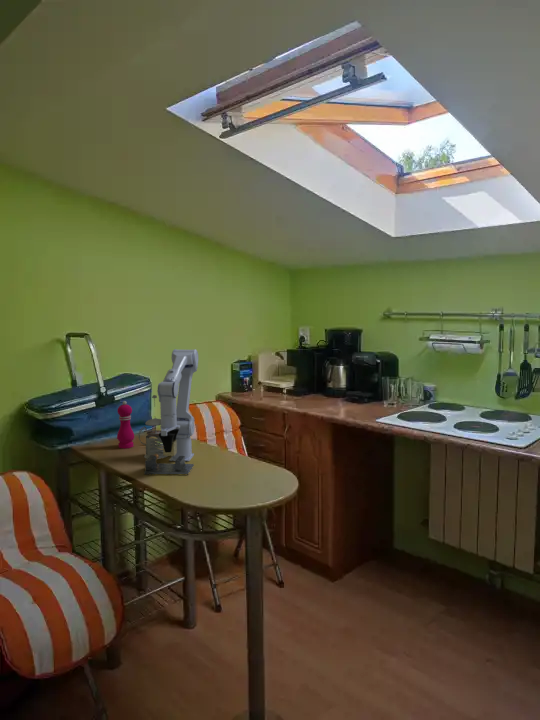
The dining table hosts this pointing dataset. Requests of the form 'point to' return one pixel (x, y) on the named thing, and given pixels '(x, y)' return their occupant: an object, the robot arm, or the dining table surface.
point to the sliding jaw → (151, 462)
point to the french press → (152, 448)
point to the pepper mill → (125, 427)
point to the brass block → (173, 450)
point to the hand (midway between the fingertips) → (169, 450)
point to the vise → (171, 467)
